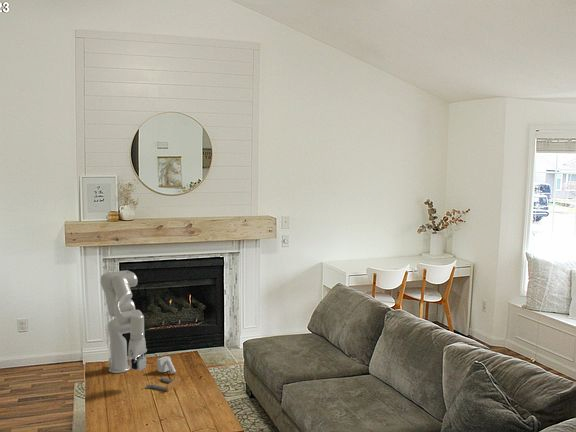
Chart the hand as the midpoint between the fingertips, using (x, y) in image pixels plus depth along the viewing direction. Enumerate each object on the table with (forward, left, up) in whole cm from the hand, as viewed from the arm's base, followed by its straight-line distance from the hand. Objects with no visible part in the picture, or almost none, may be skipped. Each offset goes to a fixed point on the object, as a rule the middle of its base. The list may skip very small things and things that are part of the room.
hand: (137, 366), depth 319 cm
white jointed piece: (+2, +25, -12) cm, 27 cm away
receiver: (+13, +8, -12) cm, 19 cm away
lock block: (0, 0, -1) cm, 1 cm away
